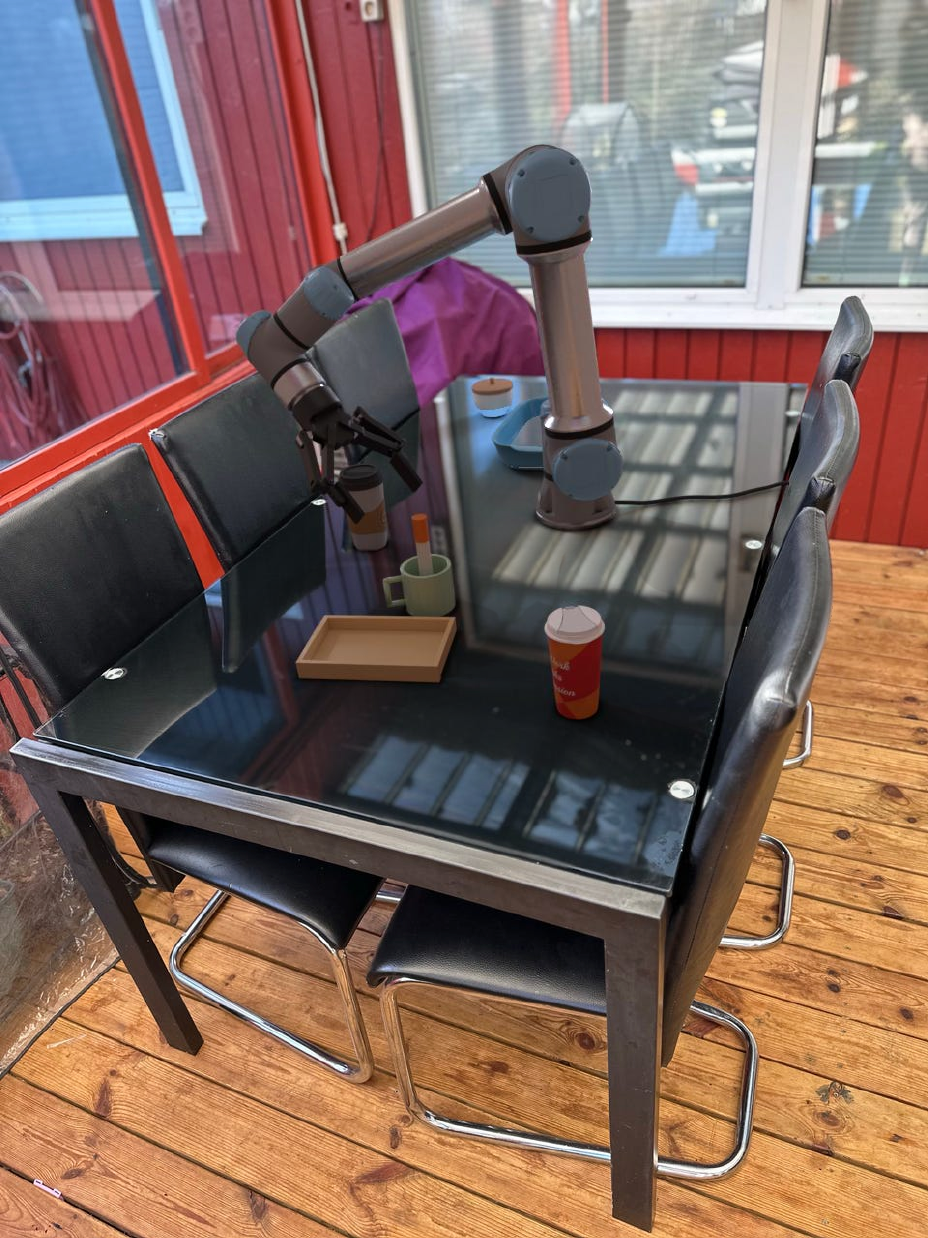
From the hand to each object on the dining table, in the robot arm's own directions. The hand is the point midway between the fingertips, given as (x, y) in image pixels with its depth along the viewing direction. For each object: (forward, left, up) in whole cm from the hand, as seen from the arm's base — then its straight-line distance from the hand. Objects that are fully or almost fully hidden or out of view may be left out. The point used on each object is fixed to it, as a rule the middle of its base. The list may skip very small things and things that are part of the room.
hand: (390, 503), depth 141 cm
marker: (-5, +3, -17) cm, 18 cm away
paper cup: (-31, +28, -18) cm, 46 cm away
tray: (0, +17, -18) cm, 24 cm away
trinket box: (0, -96, -18) cm, 97 cm away
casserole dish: (-18, -70, -18) cm, 74 cm away
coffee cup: (+12, -21, -18) cm, 30 cm away
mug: (-4, +3, -18) cm, 18 cm away
